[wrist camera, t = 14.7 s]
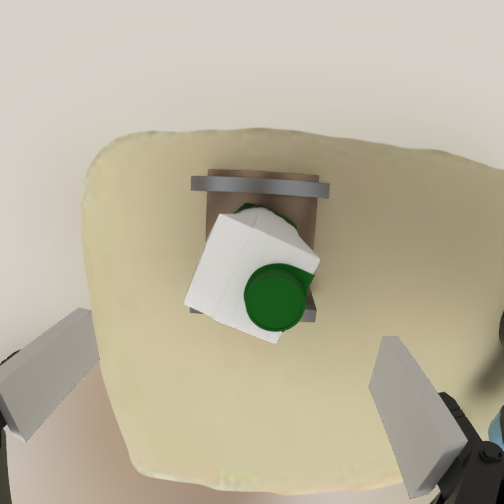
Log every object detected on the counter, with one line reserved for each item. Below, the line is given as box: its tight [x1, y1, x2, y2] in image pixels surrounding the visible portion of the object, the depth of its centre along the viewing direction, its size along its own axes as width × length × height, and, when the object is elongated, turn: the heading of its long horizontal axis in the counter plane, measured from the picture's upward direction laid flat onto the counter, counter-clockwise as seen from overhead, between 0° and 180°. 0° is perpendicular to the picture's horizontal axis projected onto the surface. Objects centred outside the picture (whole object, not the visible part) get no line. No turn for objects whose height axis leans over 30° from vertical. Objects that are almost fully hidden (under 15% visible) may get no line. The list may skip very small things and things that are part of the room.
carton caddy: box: [190, 169, 329, 322], centre depth 36 cm, size 14×17×9 cm
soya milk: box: [183, 203, 321, 344], centre depth 29 cm, size 9×9×20 cm
